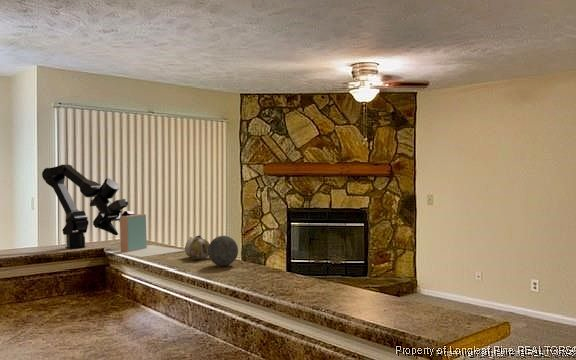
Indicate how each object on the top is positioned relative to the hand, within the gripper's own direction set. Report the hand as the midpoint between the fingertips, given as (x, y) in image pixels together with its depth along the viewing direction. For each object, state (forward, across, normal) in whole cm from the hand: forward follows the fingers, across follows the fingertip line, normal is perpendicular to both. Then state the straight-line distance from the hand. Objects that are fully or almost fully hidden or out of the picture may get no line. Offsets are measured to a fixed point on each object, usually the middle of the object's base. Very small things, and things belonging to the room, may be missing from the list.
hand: (125, 233), depth 212 cm
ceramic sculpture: (+34, -6, -24) cm, 42 cm away
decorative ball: (+46, -16, -36) cm, 61 cm away
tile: (+8, 0, +2) cm, 8 cm away
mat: (+13, 0, -2) cm, 13 cm away
